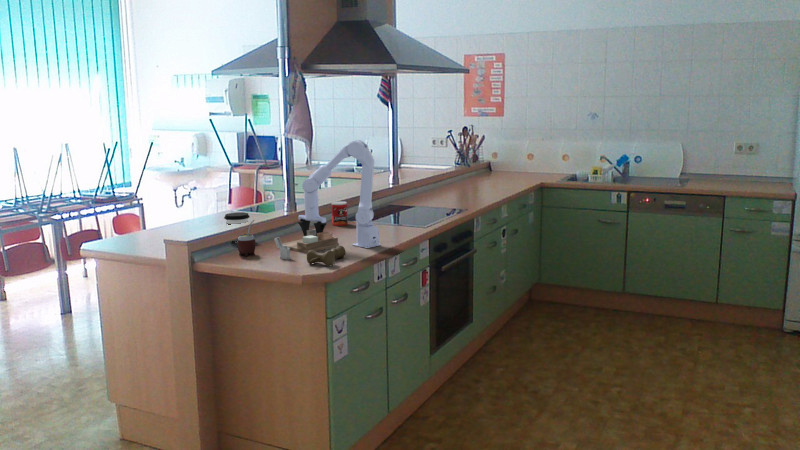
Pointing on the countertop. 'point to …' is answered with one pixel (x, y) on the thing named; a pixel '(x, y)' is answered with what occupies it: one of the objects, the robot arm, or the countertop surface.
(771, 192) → the countertop surface
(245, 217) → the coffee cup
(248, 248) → the mate gourd
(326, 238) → the tethered block
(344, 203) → the canned food
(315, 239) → the block
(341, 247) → the kendama
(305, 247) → the lane rack
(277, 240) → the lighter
